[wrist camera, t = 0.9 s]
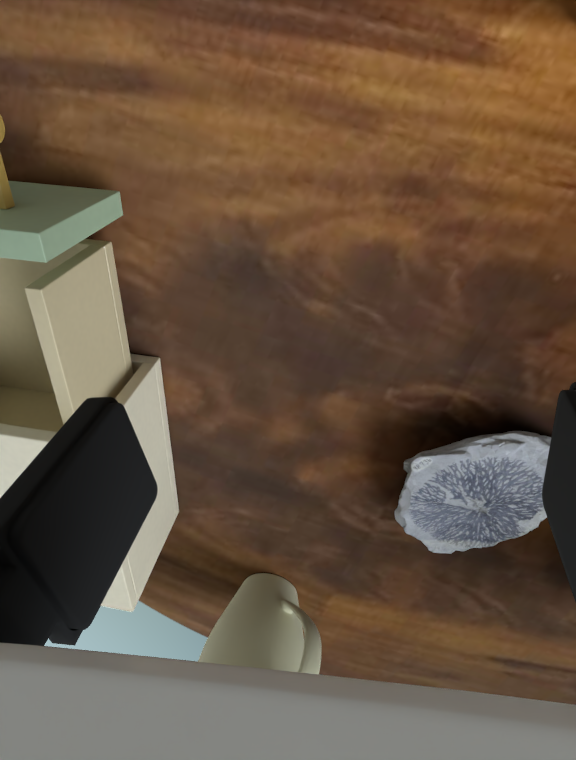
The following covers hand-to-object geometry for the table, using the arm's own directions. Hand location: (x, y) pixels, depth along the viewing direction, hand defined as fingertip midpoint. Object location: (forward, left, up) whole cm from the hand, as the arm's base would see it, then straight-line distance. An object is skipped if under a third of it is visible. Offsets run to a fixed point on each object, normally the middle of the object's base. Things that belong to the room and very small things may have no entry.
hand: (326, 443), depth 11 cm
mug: (+26, -19, -16) cm, 36 cm away
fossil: (+18, 0, -16) cm, 24 cm away
